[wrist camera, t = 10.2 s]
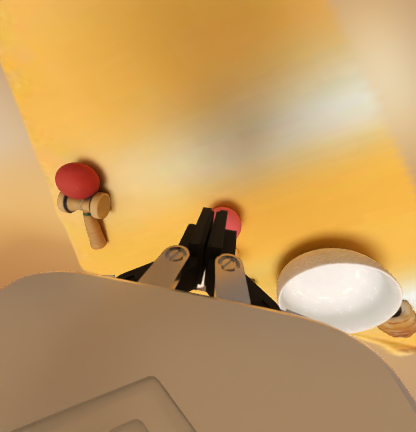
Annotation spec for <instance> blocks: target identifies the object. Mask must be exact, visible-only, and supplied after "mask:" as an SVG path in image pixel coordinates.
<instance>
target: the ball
mask: <svg viewBox="0 0 416 432" xmlns="http://www.w3.org/2000/svg"><path fill="white" fill-rule="evenodd" d="M220 210H227V211H228V215H227V222H226V229H228V230H234V231H237V235H236V238H237V237H238V236H239V234H240V231H241V220H240V218H239V216H238V214H237V213H236V212H235V211H234V210H232V209H230V208H227V207H218V208H215V209H213V210H212V211H214V219H215V216H216V212H217V211H219V212H220ZM213 223H214V222H213Z"/></svg>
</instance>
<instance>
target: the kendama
mask: <svg viewBox="0 0 416 432" xmlns="http://www.w3.org/2000/svg"><path fill="white" fill-rule="evenodd" d="M55 182H56V185H57V187H58V189H59V190H60V191H61V192H60V194H59V195H58V199H57V204H58V208H59V209H60V210H61V211H62V212H66V213H72V212H74V211H76V210H83V215H84V221H85V226H86V230H87V233H88V237H89V240H90V245H91V247H92V248H93V249H101V248H103V247H104V246H105V245H106V244H107V241H106V239H105V237H104V235H103V233H102V230H101V228H100V225H99V223H98V221H97V219H104V218H105V217H106V216H107V215H108V213H109V211H110V206H111V202H110V197H109V195H108V194H107V193H103V192H97V191H98V189H99V186H100V180H99V176H98V174H97V173H96V172H95V170H94V169H92V168H91V167H90V166H88V165H85V164H83V163H80V162H76V163H68V164H65V165H63V166H62V167H60V168H59V170H58V171H57V173H56V176H55Z"/></svg>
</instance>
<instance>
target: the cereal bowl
mask: <svg viewBox="0 0 416 432" xmlns="http://www.w3.org/2000/svg"><path fill="white" fill-rule="evenodd" d="M402 297H403V295H402V290H401V287H400V285H399V284H398V282H397V281H396V279H395V278H394V277H393V276H392V275H391V274H390V273H389V272H388V271H387V270H386V269H385V268H384V267H383V266H382V265H380V264H379V263H378V262H377V261H374V260H373V259H372V258H370V257H368V256H366V255H363V254H361V253H358V252H356V251H352V250H347V249H340V248H325V249H316V250H313V251H310V252H306V253H304V254H302V255H299V256H297V257H296V258H294V259H293V260H291V261H290V262H289V263H288V264H287V265H286V266H285V267H284V268H283V270H282V271H281V273H280V275H279V277H278V281H277V299H278V305H279V307H280V309H282V310H284V311H286V309H288V310H291V311H293V312H296V313H298V314H301V315H303V316H306V317H308V318H311V319H314V320H318V321H321V322H324V323H326V324H329V325H331V326H333V327H336V328H338V329H340V330H342V331H344V332H346V333H355V332H360V331H365V330H368V329H371V328H374V327H376V326H378V325H380V324H382V323H384V322H386V321H387V320H388V319H390V318H391V317H392V316H393V315H394V314H395V313H396V312H397V311H398V309H399V308H400V306H401V303H402Z"/></svg>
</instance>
